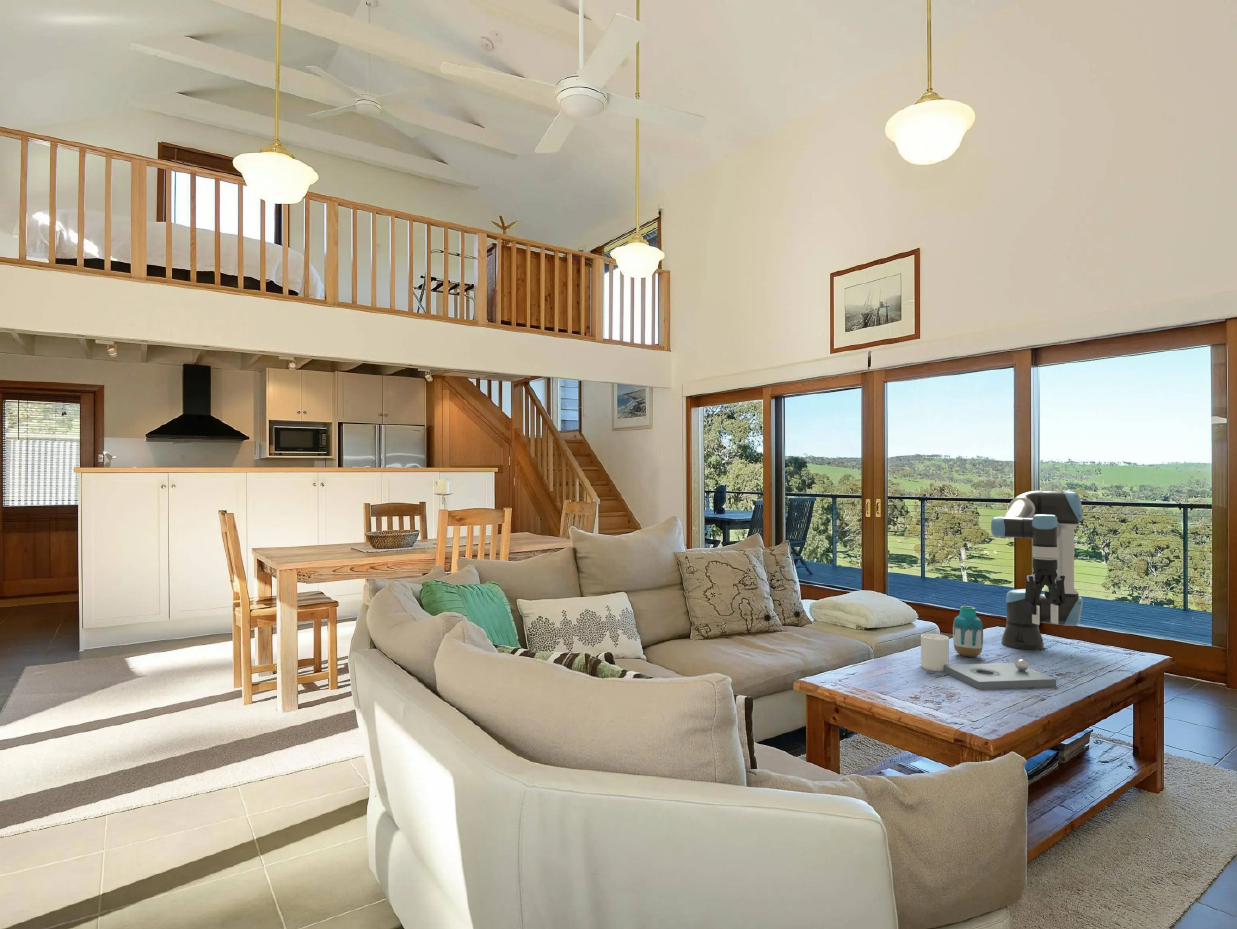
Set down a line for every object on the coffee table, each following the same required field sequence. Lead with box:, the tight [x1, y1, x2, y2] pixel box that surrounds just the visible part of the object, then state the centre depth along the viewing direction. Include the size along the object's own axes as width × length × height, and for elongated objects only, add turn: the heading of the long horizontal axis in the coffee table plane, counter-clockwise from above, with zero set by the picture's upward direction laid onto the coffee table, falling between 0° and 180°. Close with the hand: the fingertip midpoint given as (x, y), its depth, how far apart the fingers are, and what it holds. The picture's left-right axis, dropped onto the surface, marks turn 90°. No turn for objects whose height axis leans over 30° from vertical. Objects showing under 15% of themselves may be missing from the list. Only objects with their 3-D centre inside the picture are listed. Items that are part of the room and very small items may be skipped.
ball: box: [1014, 658, 1029, 671], centre depth 240 cm, size 4×4×4 cm
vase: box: [952, 605, 984, 658], centre depth 269 cm, size 11×11×19 cm
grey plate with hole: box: [943, 662, 1057, 690], centre depth 239 cm, size 28×20×2 cm
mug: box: [920, 633, 950, 672], centre depth 254 cm, size 10×12×12 cm
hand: (1045, 623), depth 242 cm, fingers open, 6 cm apart
